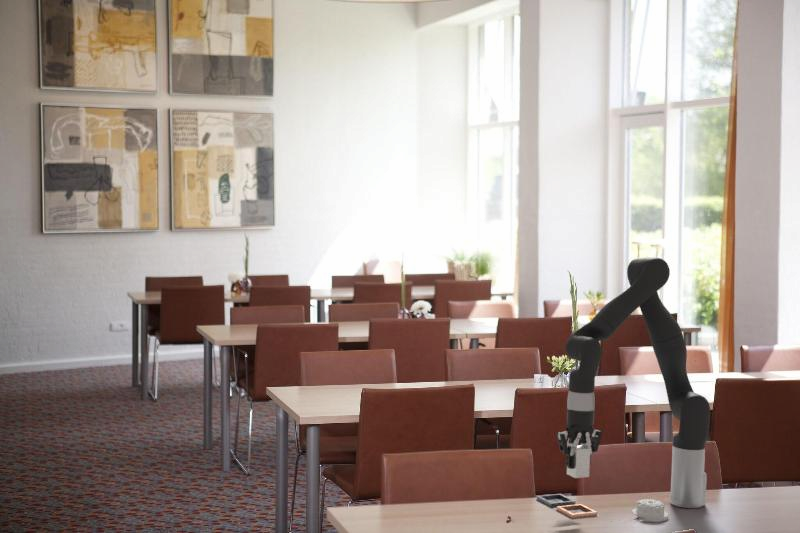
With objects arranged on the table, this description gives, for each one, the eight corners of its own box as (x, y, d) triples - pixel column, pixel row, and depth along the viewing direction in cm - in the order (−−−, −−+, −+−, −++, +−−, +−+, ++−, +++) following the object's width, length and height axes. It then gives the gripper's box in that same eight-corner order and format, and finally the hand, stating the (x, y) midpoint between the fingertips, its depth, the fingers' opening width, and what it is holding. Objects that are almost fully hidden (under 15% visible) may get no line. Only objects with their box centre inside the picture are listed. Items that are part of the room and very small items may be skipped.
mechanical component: (632, 521, 284) (669, 524, 282) (632, 505, 284) (669, 508, 282) (631, 511, 294) (667, 514, 292) (632, 495, 293) (667, 498, 291)
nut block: (580, 472, 289) (581, 445, 288) (589, 477, 285) (590, 448, 284) (566, 474, 287) (567, 446, 286) (575, 478, 283) (576, 449, 282)
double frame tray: (561, 500, 302) (561, 493, 302) (600, 519, 283) (600, 512, 283) (535, 502, 298) (535, 496, 298) (572, 523, 280) (572, 515, 280)
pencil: (506, 523, 279) (506, 520, 279) (512, 504, 298) (512, 501, 297) (509, 523, 279) (509, 520, 279) (515, 504, 297) (515, 501, 297)
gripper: (594, 403, 291) (592, 462, 292) (551, 405, 285) (549, 466, 286) (610, 408, 284) (607, 469, 285) (566, 411, 278) (563, 472, 279)
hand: (578, 467), depth 286 cm, fingers closed on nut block, 4 cm apart
